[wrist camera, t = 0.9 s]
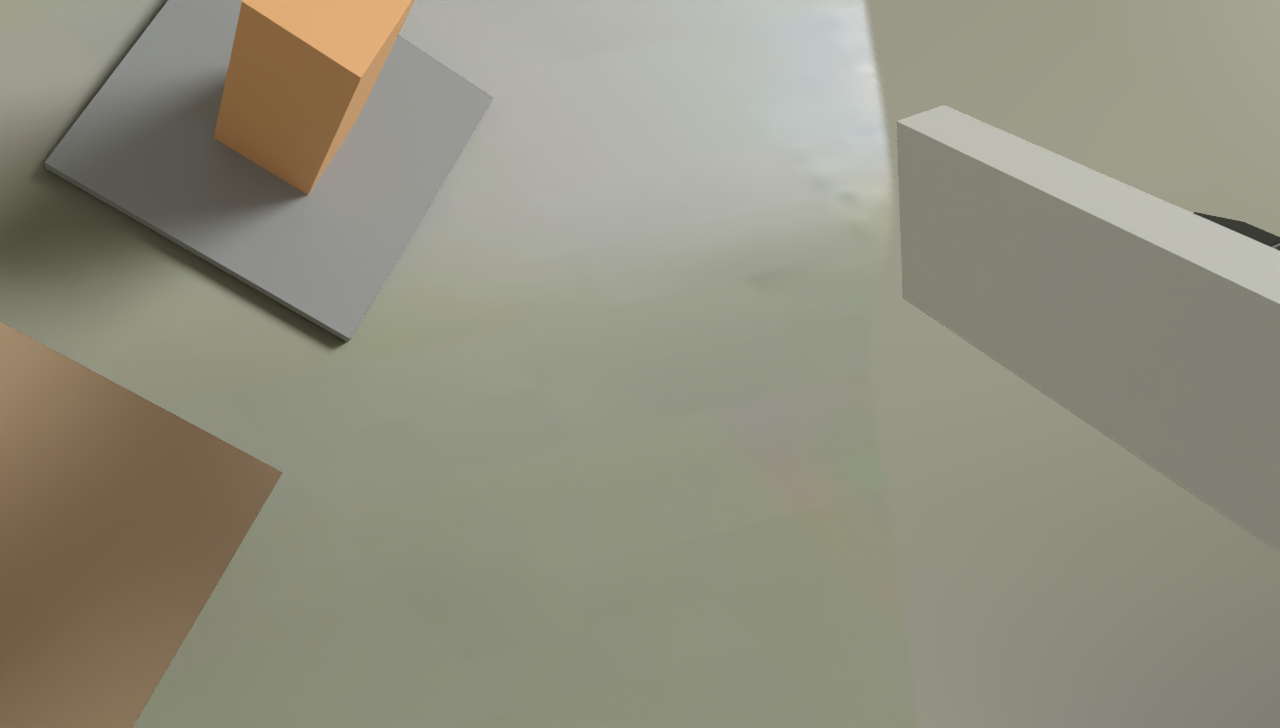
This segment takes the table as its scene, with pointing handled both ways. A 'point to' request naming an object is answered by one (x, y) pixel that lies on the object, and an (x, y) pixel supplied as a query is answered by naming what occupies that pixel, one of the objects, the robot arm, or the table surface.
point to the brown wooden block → (104, 538)
